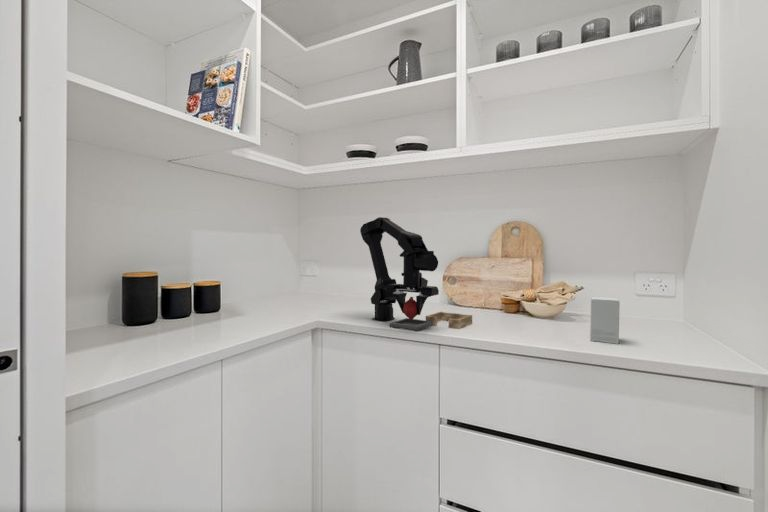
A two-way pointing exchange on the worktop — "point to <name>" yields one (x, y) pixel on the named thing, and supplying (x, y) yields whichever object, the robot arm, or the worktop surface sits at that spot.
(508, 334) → the worktop surface
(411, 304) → the onion
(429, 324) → the grey square tray
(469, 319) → the oak frame
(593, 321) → the supplement box
